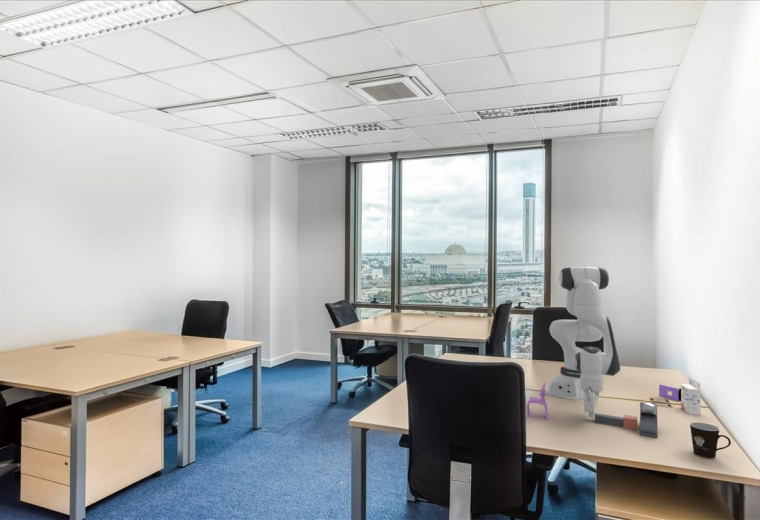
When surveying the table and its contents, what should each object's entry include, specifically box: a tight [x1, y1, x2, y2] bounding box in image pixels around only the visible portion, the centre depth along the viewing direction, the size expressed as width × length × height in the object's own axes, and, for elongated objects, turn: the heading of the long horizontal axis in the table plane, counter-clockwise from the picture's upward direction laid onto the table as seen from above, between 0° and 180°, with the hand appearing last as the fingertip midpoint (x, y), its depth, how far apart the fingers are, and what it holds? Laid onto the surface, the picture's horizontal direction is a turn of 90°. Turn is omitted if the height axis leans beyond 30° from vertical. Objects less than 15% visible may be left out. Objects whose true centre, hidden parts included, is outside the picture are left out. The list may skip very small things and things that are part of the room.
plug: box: [594, 412, 638, 431], centre depth 194 cm, size 16×4×4 cm, turn 60°
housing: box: [639, 401, 659, 439], centre depth 188 cm, size 6×17×11 cm, turn 150°
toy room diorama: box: [658, 384, 681, 402], centre depth 233 cm, size 12×12×7 cm
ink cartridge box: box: [680, 378, 701, 416], centre depth 212 cm, size 9×5×15 cm, turn 168°
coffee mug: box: [689, 421, 732, 459], centre depth 162 cm, size 12×9×10 cm
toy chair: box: [526, 382, 550, 420], centre depth 204 cm, size 8×9×15 cm
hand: (591, 417), depth 199 cm, fingers closed
